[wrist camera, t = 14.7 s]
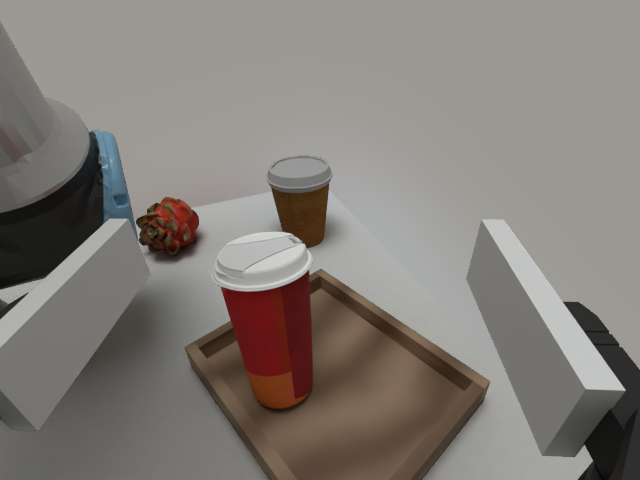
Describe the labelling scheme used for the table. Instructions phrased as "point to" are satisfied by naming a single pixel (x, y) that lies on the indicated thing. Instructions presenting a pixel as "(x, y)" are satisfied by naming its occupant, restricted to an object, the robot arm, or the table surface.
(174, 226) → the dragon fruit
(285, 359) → the paper cup
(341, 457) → the walnut tray
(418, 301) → the table surface
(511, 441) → the table surface
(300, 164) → the disposable coffee cup
